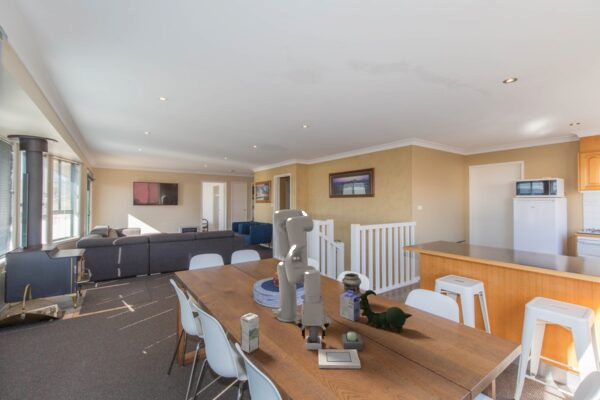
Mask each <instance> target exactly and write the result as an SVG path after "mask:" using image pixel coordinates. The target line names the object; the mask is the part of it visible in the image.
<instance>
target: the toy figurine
mask: <svg viewBox="0 0 600 400" xmlns="http://www.w3.org/2000/svg"><path fill="white" fill-rule="evenodd" d="M361 293H362V292H361ZM370 295H373V296H377V293H376V292H375V291H374V290H371V289H368V290H365V292H363V293H362V294H361V296H360V300H359V302H360V305H361V306H360V310H362V312H360V315H361V316H362V317H364V316H365V317H366V318H367V320H366V323H367V324H368V325H371V323H372V324H373V325H374V328H375V329H379V327H380V326H381V327H382V329H384V330H387V329H388V328H389V327H390V326H391V327H393V328H395V330H396V332H399V333H400V332H402V331H403V327H404V325H405V324H406V320H407V319H409V318H411V317H412V316H413V315H412V314H411V313H407V312H405V311H404V310H403V309H402V308H400V307H398V306H391V307H389V308H388V309H387V310H386V311H382V312H375V311H373V310H372V308H371V305H370V304H369V299H368V296H370Z"/></svg>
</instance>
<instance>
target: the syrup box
mask: <svg viewBox="0 0 600 400" xmlns="http://www.w3.org/2000/svg"><path fill="white" fill-rule="evenodd" d="M259 322H260V321H259V315H257V314H255V313H252V312H249V313H247V314H244V315H242V316H240V350H242V351H244V352H245V353H248V354H250V353H252V352H254V351H255V350H257V349H259V348H260V347H259V346H260V337H259V335H260V327H259V326H260V324H259Z"/></svg>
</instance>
